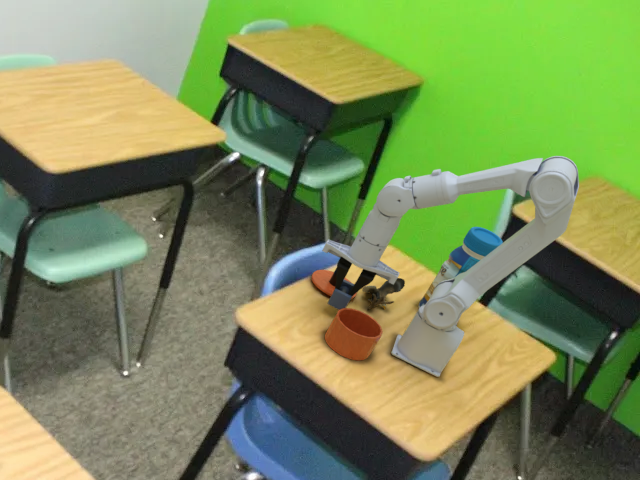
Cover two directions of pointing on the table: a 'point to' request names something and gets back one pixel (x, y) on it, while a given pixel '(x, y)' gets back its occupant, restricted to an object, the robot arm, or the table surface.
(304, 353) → the table surface
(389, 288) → the eagle figurine
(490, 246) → the beverage bottle
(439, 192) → the robot arm
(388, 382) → the table surface
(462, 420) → the table surface
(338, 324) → the pot
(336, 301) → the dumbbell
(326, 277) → the lid
